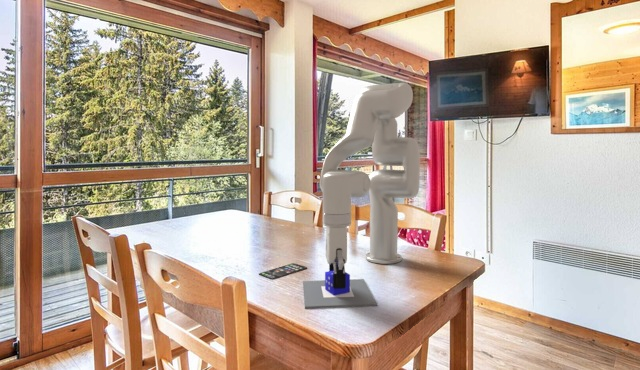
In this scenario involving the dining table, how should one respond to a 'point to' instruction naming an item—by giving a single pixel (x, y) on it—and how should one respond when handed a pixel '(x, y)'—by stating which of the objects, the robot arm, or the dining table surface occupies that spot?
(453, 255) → the dining table surface
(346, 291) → the die
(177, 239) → the dining table surface
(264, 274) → the smartphone
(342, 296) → the mat
